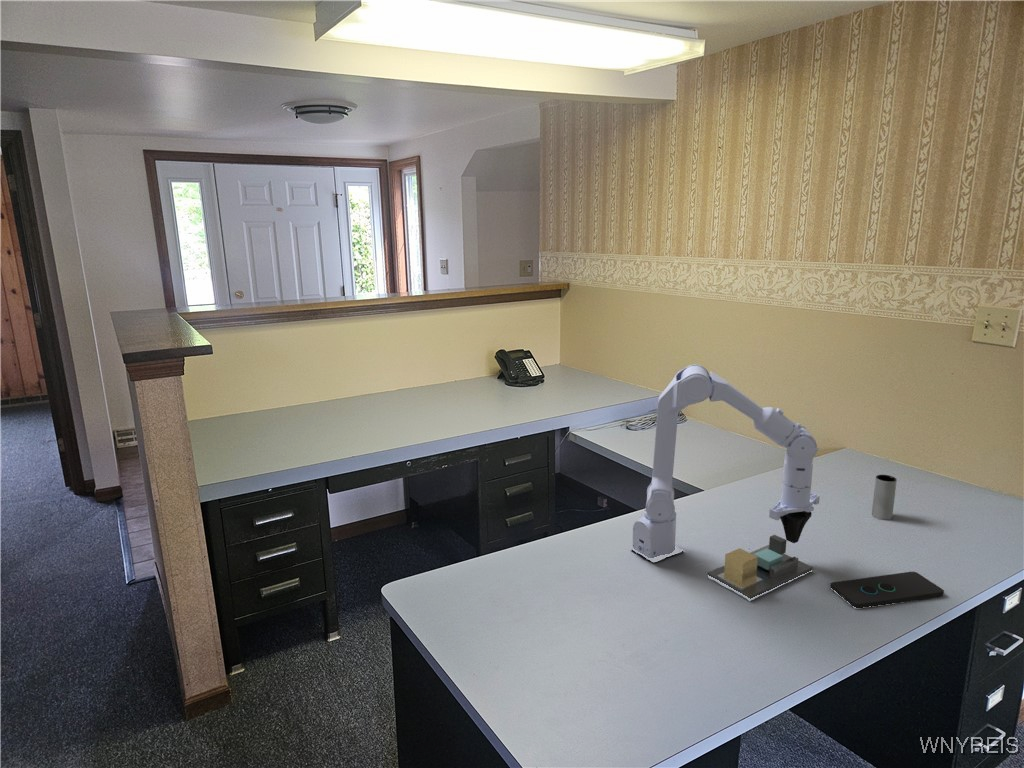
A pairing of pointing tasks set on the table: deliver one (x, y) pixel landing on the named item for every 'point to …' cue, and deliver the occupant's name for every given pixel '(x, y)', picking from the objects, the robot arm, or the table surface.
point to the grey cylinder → (884, 497)
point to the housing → (740, 566)
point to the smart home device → (887, 589)
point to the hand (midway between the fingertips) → (792, 540)
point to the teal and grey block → (772, 552)
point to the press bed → (765, 575)
